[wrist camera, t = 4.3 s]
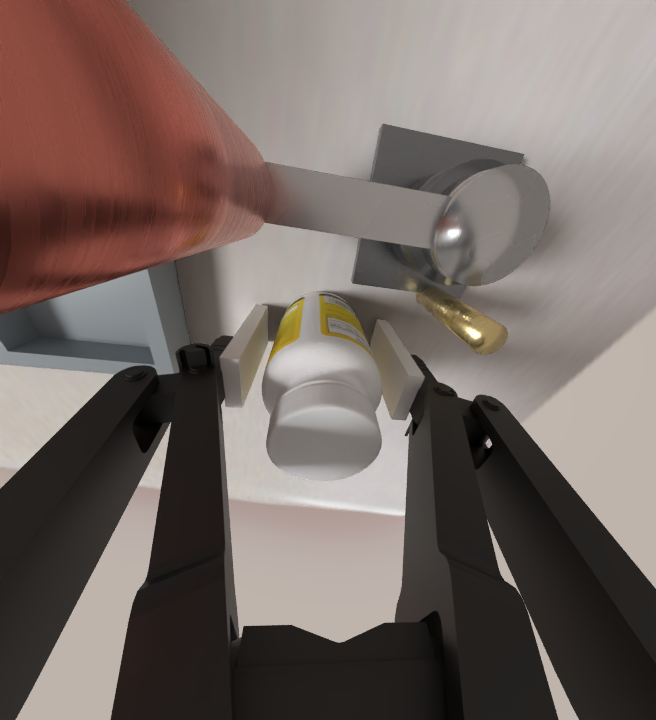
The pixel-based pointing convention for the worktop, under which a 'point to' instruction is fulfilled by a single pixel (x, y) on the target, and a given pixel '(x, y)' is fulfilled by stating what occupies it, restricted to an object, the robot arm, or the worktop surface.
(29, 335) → the tray
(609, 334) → the worktop surface
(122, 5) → the crank
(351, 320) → the supplement bottle
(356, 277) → the crank pedestal
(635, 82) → the worktop surface
